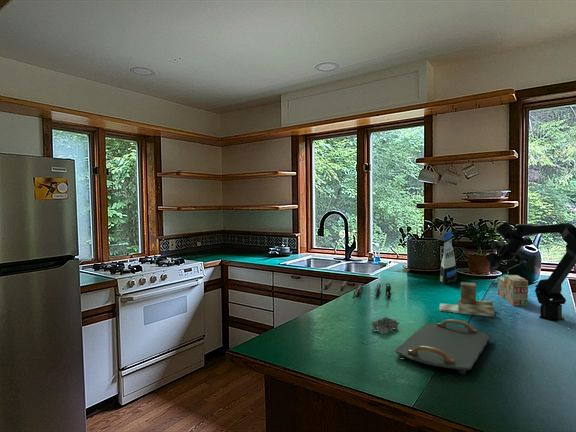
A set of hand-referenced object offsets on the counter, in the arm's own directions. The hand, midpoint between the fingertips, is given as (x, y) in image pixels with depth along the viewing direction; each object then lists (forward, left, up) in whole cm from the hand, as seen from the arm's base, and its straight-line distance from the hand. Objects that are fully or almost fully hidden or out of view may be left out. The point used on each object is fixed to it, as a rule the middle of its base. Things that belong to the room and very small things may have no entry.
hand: (497, 270), depth 181 cm
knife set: (+45, +51, -15) cm, 70 cm away
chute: (-2, +25, -15) cm, 29 cm away
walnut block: (-2, +25, -14) cm, 29 cm away
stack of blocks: (-2, -8, -16) cm, 18 cm away
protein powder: (+44, -19, -15) cm, 50 cm away
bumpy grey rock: (-1, +73, -16) cm, 74 cm away
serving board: (-26, +69, -16) cm, 75 cm away
